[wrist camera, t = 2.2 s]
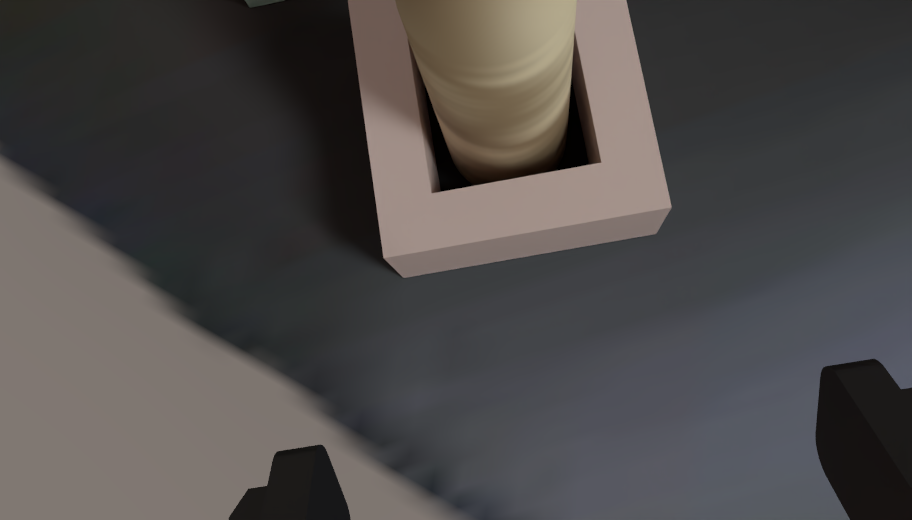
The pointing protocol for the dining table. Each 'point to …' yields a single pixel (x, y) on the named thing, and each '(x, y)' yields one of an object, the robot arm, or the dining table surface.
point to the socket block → (520, 199)
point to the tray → (260, 2)
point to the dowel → (496, 80)
